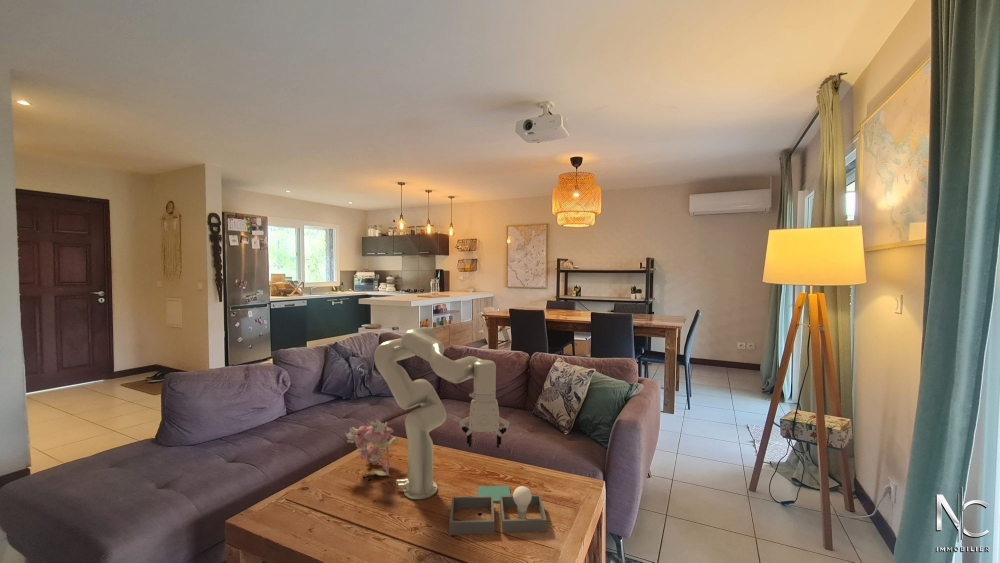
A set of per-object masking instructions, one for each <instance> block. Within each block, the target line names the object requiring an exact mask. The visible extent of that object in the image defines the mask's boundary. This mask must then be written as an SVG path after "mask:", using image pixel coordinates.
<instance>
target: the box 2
mask: <svg viewBox="0 0 1000 563" xmlns="http://www.w3.org/2000/svg"><path fill="white" fill-rule="evenodd" d="M513 508H514V509H515V508H516V509H518V508H517V505H516V504H515V502H514V500H513V495H510V496H500V502H499V509H500V522H501V531H502V532H501V533H502V534H519V533H520V534H521V533H522V534H524V533H525V534H526V533H547V532H548V531H547V530H548V520H547V515H546V511H545V509H544V504H543V500H542V497H541V495H540V494H532V499H531V502H530V504H529V505H528V507H527V508H538V510H539V515H540V518H525V519H519V518H518V519H515V518H514V519H505V512H504V509H513Z"/></svg>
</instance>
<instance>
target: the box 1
mask: <svg viewBox="0 0 1000 563" xmlns="http://www.w3.org/2000/svg"><path fill="white" fill-rule="evenodd" d="M451 498H452V499H451V505H450V506H451V507H450V514H449V523H448V524H449V528H448V529H449V533H448V534H449V535H450V536H451V535H453V536H454V535H456V536H457V535H482V534H483V535H485V534H487V535H489V534H495V512H494V511H495V510H494V509H495V508H494V503H493V496H480V497H478V496H452V497H451ZM474 509H475V510H478V509H479V510H480V509H483V510H484V509H490V516H491V517H490V518H491V519H488V520H487V519H484V520H482V519H481V520H454V514H455V510H474Z"/></svg>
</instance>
